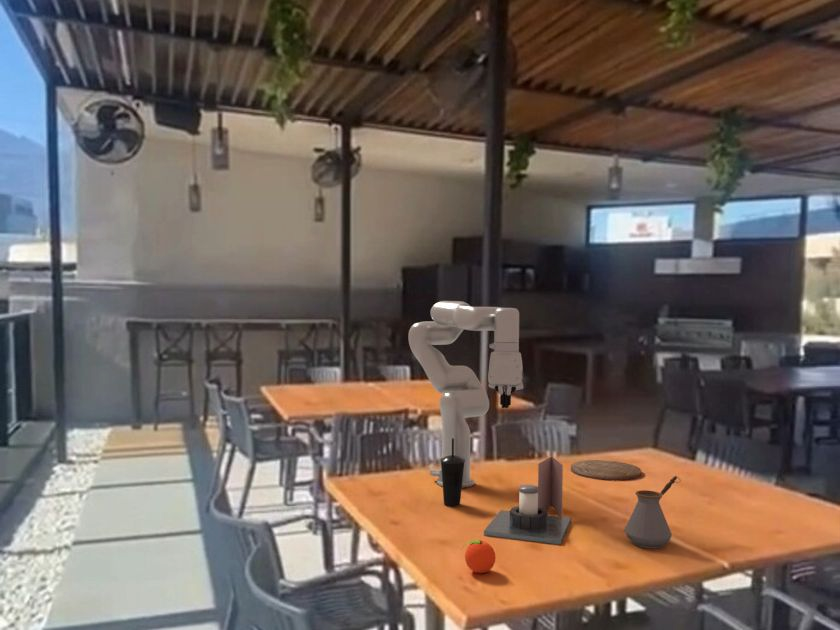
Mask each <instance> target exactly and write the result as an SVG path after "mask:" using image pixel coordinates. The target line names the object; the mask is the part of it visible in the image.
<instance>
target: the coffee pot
mask: <svg viewBox="0 0 840 630" xmlns="http://www.w3.org/2000/svg"><path fill="white" fill-rule="evenodd" d="M677 479H678V480H679V481H676V480H677ZM680 482H682V481H681V478H679V477H678V476H677V475H674V476H673V477H672V478H671V479H670V480H669V482H667V483H666V484H665V486H664V487H663V489H662V490H661V491H660V492H658V491H654V490H636V491H635V496H636V497H637V502H636V504H635V507H634V509H633V511H632V513H631V515H630V518H629V520H628V521H627V524H626V526H625V528H624V532H625V535H626V537H627V538H628V539H629V541H631V542H632V544H633V545H635V546H637V547H640V548H646V549H660V548H663V547H664V546H665V545H666V544H667V543H669V542H670V540H671V538H672V535H673V534H672V532H671V529H670V526H669V525H668V522H667V519H666V517H665V514H664V511H663V509H662V507H661V503H660V500H661V498H662V497H663V496H664V495H665V494H666V493H667V492H668V491H669V490H670V489H671V487H672V485H673V484H675V483H677V484H679V483H680Z"/></svg>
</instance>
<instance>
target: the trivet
mask: <svg viewBox="0 0 840 630" xmlns="http://www.w3.org/2000/svg"><path fill="white" fill-rule="evenodd" d="M570 472H571V473H573V475H574V474H575V475H577V476H578V477H583V478H587V479H593V480H599V481H600V480H601V481H611V480H615V481H616V480H622V481H632V480H636V479H635V478H637V479H639V478H641V477H642V469H641V468H640V467H639V466H636V465H633V464H631V463H626V462H621V461H620V462H619V461H614V460H613V461H612V460H605V459H603V460H601V459H600V460H599V459H595V460H593V459H592V460H591V459H590V460H589V459H588V460H580V461H576V462H572V463H571V464H570ZM638 477H639V478H638ZM631 479H632V480H631ZM615 481H614V482H615Z"/></svg>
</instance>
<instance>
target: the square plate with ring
mask: <svg viewBox="0 0 840 630" xmlns="http://www.w3.org/2000/svg"><path fill="white" fill-rule="evenodd" d="M571 522H572V518H571V517H567V516H566V517H565V516H562V517H561V516H560V515H558V516H557V515H549V511H548V510H547V509H546V510H545V509H543V508H539V507H538V515H524V514H520V513H519V505H518V506H514V507H513V506H512V507H511V508H510V509H509V510H505V509H500V511H499V512H498V513H497V514H496V515H495V516H494V518H493V519H492V520H491V521H490V522H489V524H488V525H487V526H486V527H485V528H484V530H483V536H486V537H494V538H501V539H502V538H503V539H510V540H519V541H526V542H527V541H528V542H533V543H534V542H535V543H543V544H550V545H559V546H560V545H561V544H562V542H563V540H564V538H565V536H566V534H567V531H568V530H569V527H570V525H571Z"/></svg>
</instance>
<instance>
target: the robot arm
mask: <svg viewBox="0 0 840 630" xmlns="http://www.w3.org/2000/svg"><path fill="white" fill-rule="evenodd" d="M430 317H431V319H432V320H433V321H431V320H430V321H426V320H425V321H420V322H416V323H414V324H412V325H411V326H410V329H409V330H408V344H409V347H410V350H411V352H412V354H413V356H414V357H415V358H416V360H417V361H418V363H419V364H420V365H421V367H422V368H423V370H424V372H425V375H426V377H427V378H428V381H429V382H430V383H431V386H432V387H433V389H434V390H435V391H436V392H437V393H438V394H442V395H441V397H440V399H439V412H440V417H441V430H442V431H441V435H442V436H441V438H442V440H441V458H443V457H445V456H449V455H452V438H453V439H454V455H456V456H459V457H461V458H463V459H465V463H464V470H463V480H462V489H464V488H465V487H466V488H471V487H472V485H473V486H474V485H475V479H473V478H471V429H470V427H469V425H468V423H467V421H466V419H467V418H476V417H482V416H484V415H486V414H487V412H488V411H489V409H490V399H489V396H488V394H487V392H486V390H485V389H484V387H483V385H482V384H481V382H480V380H479V379H478V377H477V375H476V373H475V372H474V370H473V369H472V368H470V367H469V366H467V365H451V364H449V362H448V361H447V360H446V357H445V356H444V354H443V353H442V352H441V351H440V350H439V349H437V348H436V347H435V346H437V345H439V346H440V345H441V346H442V345H443V346H444V345H450V344H453V343H454V342H455V341H456V340H457V339H458V338H459V336H461V334H462V333H463V331H464V330H466V331H473V332H482V331H485V332H486V331H490V332H491V331H493V333H494V334H493V335H494V337H493V338H494V339H493V341H494V342H493V343H489V346H488V347H489V348H490V349H492V350H493V351H491V353H490V357H489V364H488V365H489V366H488V372H487V373H488V375H487V376H488V378H487V381H488V387H489V388H490V389H495V391H496V392H498V394H499V395H500V396H499V397H500V398H499V402H500V403H499V404H500V406H501V408H502V409H509V408H510V406H511V404H512V394H514V392H516V391H518V390H519V391H520V390H523V389H524V384H523V382H524V370H523V368H524V367H523V359H522V353H521V352H520V350H519V349H520V347H519V346H520V345H519V344H520V340H519V339H520V312H519V310H518V308H515V307H500V306H471V305H470V304H469V303H467V302H466V301H465V302H464V301H459V300H440V301H439V302H436V303H435V304H433V305H432V307H431V308H430ZM505 386H507V390H505ZM505 391H506V392H505ZM429 472H430V475H431V476H432V477H438V478H437V479H436V484H437V485H438V486H441V487H443V484H442V470H441V468H439V469H435V468H430V471H429Z"/></svg>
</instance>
